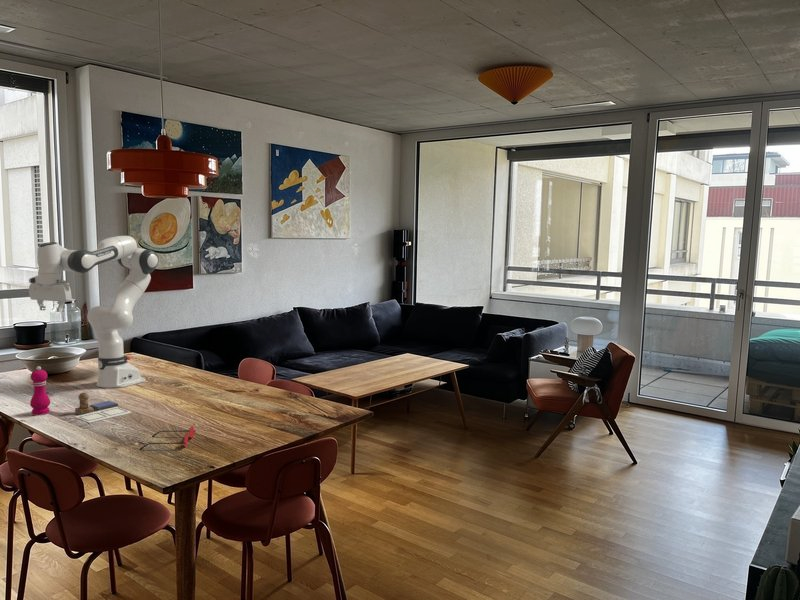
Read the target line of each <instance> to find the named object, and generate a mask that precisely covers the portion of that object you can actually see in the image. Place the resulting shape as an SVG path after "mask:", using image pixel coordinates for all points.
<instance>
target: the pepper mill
mask: <svg viewBox="0 0 800 600" xmlns="http://www.w3.org/2000/svg"><path fill="white" fill-rule="evenodd" d="M47 379H48V373H47V371H46V370H44V369H42V367H41V366H39V365H38V366H36V367H35V370H33V371H32V372H31V374H30V380H31V384H32V387H33V394H32V397H31V399H30V403H29V404H30V407H31V408H32V410H31V414H32V415H33V416H43V415H47V414H49V413H50V407H49V406H50V405H51V399H50V397H49V395H48V394H47V391H46V385H47Z"/></svg>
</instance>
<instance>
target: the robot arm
mask: <svg viewBox="0 0 800 600" xmlns="http://www.w3.org/2000/svg"><path fill="white" fill-rule="evenodd" d="M137 244H138V243H137V241H136V239H135V238H134V237H132V236H130V235H117V236H111V237H107V238H104V239H102V240H100V241H99V242H98V244H97V247H96V248H97V249H96V250H92V251H89V250H86V249H79V250H78V249H68V248H66V247H63V246H62V245H60V244H59V242H57V241H56V242H55V241H51V242H44V243H41V244H39V246H38V248H37V255H36V256H37V257H36V258H37V262H36V263H37V265H38V269H37V275H35V276H33V277H30V278H28V283H29V286H28V294H29V295H28V297H29V298H30V300H33V301H36V303H37V305H38V307H39V311H46V310H47V309H46V307H47V306H45V305H44V301H45V302H47V301H48V302H57V304H58V306H57V307H56V312H59V313H60V312H63V311H64V310H63V308H64V305H65V303H67V302H71V301H72V299H73V297H72V290H71V287H70V283H69V282H68V281H67V280H62V271H63V272H73V273H79V274H85V273H87V272H90V271H91V270H92V269H93V268H94V267H96V266H98V265H100V264H104V263H106V262H113V261H117V263H118V264H119V265H120V266H121V267H123V268H125V269H130V271H129V274H128V275H127V276H126V277H125V279H124V280H122V282H121V283H120V285H119V286H118V287H117V289H116V290H115V291H114V294H113V296H114V297H113V298H114V301H113V304H112V305H111V306H109V305H96V306H93V307H92V308H90V309H89V310H88V312H87V316H86V318H87V320H88V323H89V324H90V325H91V326H92V328H93V330H94V333H95V335H96V338H97V343H98V346H97V347H98V357H97V367H98V375H97V376H98V377H97V381H96V387H98V388H103V389H104V388H107V389H108V388H109V389H110V388H126V387H129V386H132V385H137V384H140V383H144V382H146V378H145V377H143V376H141V372H140V370H139V368H137V367H136V366H134V365H132V364H131V363H129V362H128V361H132V356H130V355H124V353H125V352H124V339H123V338H122V336H120V334H119V331H122V330H128V329H129V328H130V327H131V326H132V325H133V322H134V314H133V310H134V308H135V305H136V304H137V302H138V301H139V300H140V298H141V297H142V295H143V294H144V293H145V291H146V289H147V288H148V286H149V285H150V282H151V279H152V277H151V274H152V273H153V272H154V271H155V270H156V268H157V266H158V264H159V255H158V254H157V252H155V251H154V250H152V249H146V248H140V247H138V245H137Z"/></svg>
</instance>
